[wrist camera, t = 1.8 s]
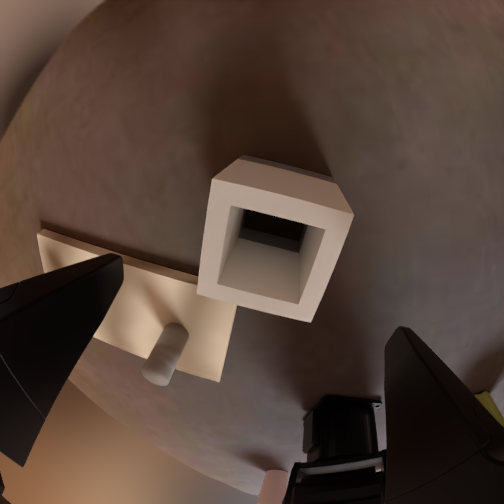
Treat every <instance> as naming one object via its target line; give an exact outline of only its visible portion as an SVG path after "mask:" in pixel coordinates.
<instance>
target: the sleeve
mask: <svg viewBox="0 0 504 504" xmlns="http://www.w3.org/2000/svg"><path fill="white" fill-rule="evenodd" d="M247 209H248V210H252V211H257V212H261V213H265V214H269V215H273V216H277V217H280V218H284V219H288V220H292V221H296V222H300V223H304V227H303V230H302V233H301V237H300V240H299V241H296V240H292V239H288V238H284V237H281V236H277V235H273V234H269V233H265V232H261V231H257V230H253V229H249V228H245V227H243V225H244V220H245V215H246V210H247ZM353 217H354V214H353V212H352V210H351V208H350V206H349V204H348V203H347V201H346V199H345V197H344V196H343V194H342V192H341V190H340V189H339V187H338V185H337V183H336V182H335V180H334V178H333V177H329V176H326V175H323V174H319V173H316V172H312V171H308V170H305V169H301V168H297V167H293V166H289V165H285V164H281V163H277V162H273V161H269V160H265V159H260V158H256V157H251V156H247V155H242V156H241V157H240V158H238V159H237V160H236V161H234V162H233V163H232V164H230V165H229V166H228V167H226V168H225V169H224V170H222V171H221V172H220V173H219V174H217V175H216V176H215V177H213V178H212V182H211V188H210V195H209V201H208V208H207V215H206V222H205V229H204V236H203V244H202V251H201V259H200V268H199V276H198V285H197V294H198V295H202V296H205V297H209V298H213V299H216V300H220V301H224V302H227V303H231V304H235V305H239V306H243V307H247V308H250V309H254V310H258V311H262V312H267V313H271V314H275V315H279V316H283V317H288V318H292V319H296V320H301V321H305V322H310V323H311V321H312V319H313V317H314V314H315V312H316V310H317V308H318V305H319V303H320V301H321V299H322V296H323V294H324V292H325V289H326V287H327V284H328V282H329V280H330V277H331V275H332V272H333V270H334V267H335V265H336V262H337V260H338V257H339V255H340V252H341V250H342V247H343V244H344V242H345V239H346V236H347V234H348V231H349V228H350V225H351V223H352V220H353Z"/></svg>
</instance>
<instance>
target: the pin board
mask: <svg viewBox="0 0 504 504" xmlns="http://www.w3.org/2000/svg"><path fill="white" fill-rule="evenodd" d="M37 238H38V244H39V249H40V254H41V259H42V264H43V269H44V273H47V272H50V271H53V270H56V269H59V268H62V267H66V266H69V265H72V264H75V263H78V262H82V261H85V260H88V259H91V258H95V257H98V256H101V255H105V254H108V253H114V254H117V255H120V256H121V257H122V258H123V268H124V281H123V284H122V286H121V288H120V290H119V292H118V293H117V295H116V297H115V299H114V301H113V303H112V305H111V307H110V309H109V311H108V312H107V314H106V316H105V318H104V320H103V321H102V323H101V325H100V326H99V328H98V329H97V331H96V332H95V334H94V336H93V337H95V338H97V339H100V340H102V341H104V342H106V343H109V344H111V345H113V346H116V347H118V348H120V349H123V350H125V351H128V352H130V353H133V354H135V355H138V356H140V357H143V358H146V359H147V360H146V362H145V364H144V366H143V368H142V370H141V372H142V374H143V376H144V377H145V378H146V379H147V380H149V381H150V382H152V383H154V384H157V385H161V386H165V385H167V384H168V383H169V381H170V379H171V376H172V374H173V372H174V370H175V369H177V370H180V371H183V372H186V373H190V374H193V375H196V376H199V377H203V378H206V379H210V380H213V381H217V382H220V379H221V375H222V371H223V367H224V362H225V358H226V354H227V349H228V345H229V340H230V336H231V331H232V327H233V323H234V318H235V314H236V309H237V305H235V304H231V303H227V302H224V301H220V300H216V299H213V298H209V297H205V296H202V295H198V294H197V285H198V276H195V275H191V274H188V273H184V272H181V271H177V270H174V269H170V268H167V267H163V266H160V265H156V264H153V263H149V262H146V261H143V260H139V259H136V258H133V257H129V256H126V255H123V254H120V253H116V252H113V251H110V250H107V249H104V248H101V247H97V246H94V245H91V244H88V243H85V242H82V241H79V240H76V239H73V238H70V237H67V236H64V235H61V234H58V233H55V232H52V231H49V230H46V229H43V230H41V231H40V232H38V233H37Z"/></svg>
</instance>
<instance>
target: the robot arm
mask: <svg viewBox="0 0 504 504" xmlns="http://www.w3.org/2000/svg"><path fill="white" fill-rule="evenodd" d="M123 281H124V268H123V258H122V257H121V256H120V255H117V254H114V253H108V254H105V255H101V256H98V257H95V258H91V259H88V260H85V261H82V262H78V263H75V264H72V265H69V266H66V267H62V268H59V269H56V270H53V271H50V272H47V273H44V274H41V275H38V276H35V277H32V278H29V279H26V280H23V281H20V283H19V282H17V283H14V284H11V285H9V286H6V287H3V288H0V452H2V453H3V454H4V455H6V456H7V457H9V458H10V459H11V460H12V461H14V462H15V463H17V464H18V465H20V466H21V467H23V466H24V465H25V463H26V460H27V457H28V456H29V453H30V451H31V449H32V446H33V444H34V442H35V440H36V438H37V436H38V434H39V432H40V429H41V427H42V426H43V424H44V422H45V418H46V417H47V415H48V413H49V411H50V410H51V408H52V406H53V404H54V402H55V400H56V398H57V396H58V394H59V393H60V391H61V389H62V387H63V385H64V384H65V382H66V380H67V378H68V377H69V375H70V373H71V372H72V370H73V368H74V366H75V365H76V363H77V361H78V360H79V358H80V356H81V355H82V353H83V351H84V350H85V348H86V347H87V345H88V343H89V342H90V340H91V339H92V337H93V336H94V334H95V332H96V331H97V329H98V328H99V326H100V325H101V323H102V321H103V320H104V318H105V316H106V314H107V312H108V311H109V309H110V307H111V305H112V303H113V301H114V299H115V297H116V295H117V293H118V292H119V290H120V288H121V286H122V284H123ZM384 391H385V409H386V437H387V449H385V450H382V451H380V452H379V451H378V440H377V431H376V422H375V414H374V413H375V412H376V411H377V410H378V409H379V408H380V407H381V406H382V401H380V400H367V399H356V398H346V397H338V396H329V395H328V396H325V397H323V399H322V400H321V401H320V403H319V404H318V405H317V406H316V408H315V409H313V410H312V411H311V412H310V414H309V415H308V416H307V417H306V419H305V420H304V423H303V426H304V435H303V452H304V453H307V462H306V463H301V462H295V463H294V466H293V468H292V470H291V474H290V478H289V482H288V486H287V490H286V494H285V496H284V498H283V501H282V504H504V427H503V426H502V425H501V424H500V423H499V422H498V421H497V420H496V419H495V418H494V416H493V415H492V414H491V413H490V412H489V411H488V410H487V409H486V408H485V407H484V406H483V405H482V404H481V402H480V401H479V400H478V399H477V398H476V397H475V396H474V395H473V394H472V392H471V391H470V390H469V389H468V388H467V387H466V386H465V385H464V384H463V382H462V381H461V380H460V379H459V378H458V377H457V376H456V375H455V374H454V373H453V372H452V371H451V370H450V368H449V367H448V366H447V365H446V364H445V363H444V362H443V361H442V360H441V359H440V358H439V357H438V356H437V355H436V354H435V353H434V352H433V351H432V350H431V349H430V348H429V347H428V346H427V345H426V344H425V343H424V342H423V341H422V340H421V339H420V338H419V337H418V336H417V335H416V334H415V333H414V332H413V331H412V330H411V329H410V328H408V327H402V326H399V327H398V328H397V329H396V330H395V331H394V333H393V335H392V336H391V338H390V339H389V341H388V342H387V344H386V346H385V381H384ZM378 469H381V471H380V472H376V470H378ZM4 488H5V487H4V484H3V480H2V477H1V473H0V504H11V503H10V502H8V501H7V500H6V499H5V498H4V497H3V496H2V493H3V491H4Z"/></svg>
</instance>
